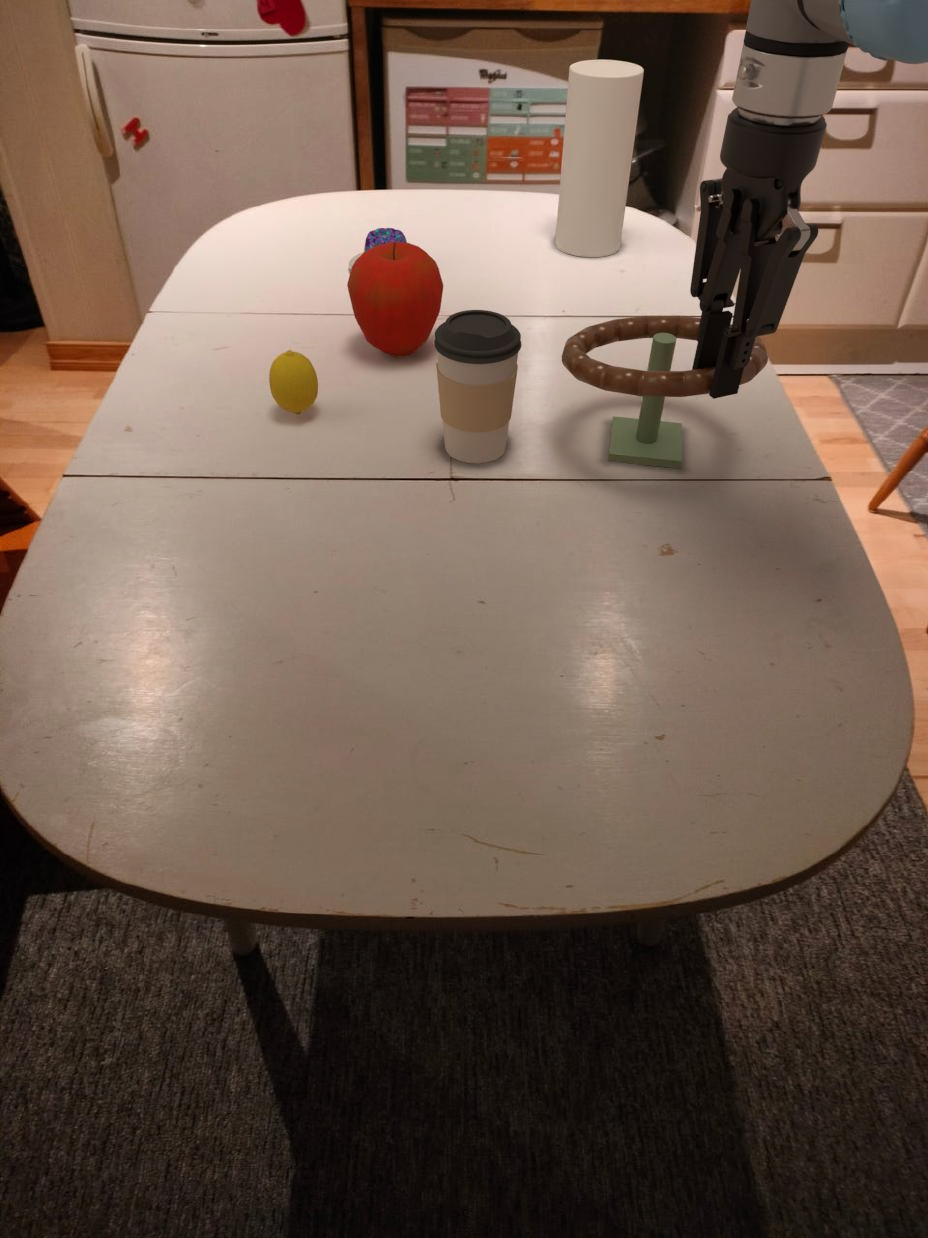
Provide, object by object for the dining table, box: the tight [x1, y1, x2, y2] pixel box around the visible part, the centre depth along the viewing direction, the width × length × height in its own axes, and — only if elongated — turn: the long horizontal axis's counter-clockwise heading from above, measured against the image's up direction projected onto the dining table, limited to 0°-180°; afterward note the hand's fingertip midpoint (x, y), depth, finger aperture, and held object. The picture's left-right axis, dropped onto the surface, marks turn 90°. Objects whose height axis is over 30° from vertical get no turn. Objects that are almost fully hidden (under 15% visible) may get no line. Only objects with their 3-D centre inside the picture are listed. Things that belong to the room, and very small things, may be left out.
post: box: [607, 333, 683, 470], centre depth 92 cm, size 8×8×13 cm
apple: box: [346, 242, 444, 358], centre depth 108 cm, size 12×12×14 cm
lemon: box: [268, 349, 319, 415], centre depth 98 cm, size 6×6×8 cm
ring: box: [561, 315, 769, 398], centre depth 89 cm, size 21×21×2 cm
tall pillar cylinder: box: [554, 59, 645, 258], centre depth 131 cm, size 11×11×25 cm
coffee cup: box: [433, 309, 522, 464], centre depth 91 cm, size 9×9×15 cm
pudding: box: [347, 227, 408, 271], centre depth 130 cm, size 12×12×5 cm
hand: (713, 385), depth 82 cm, fingers closed on ring, 3 cm apart
